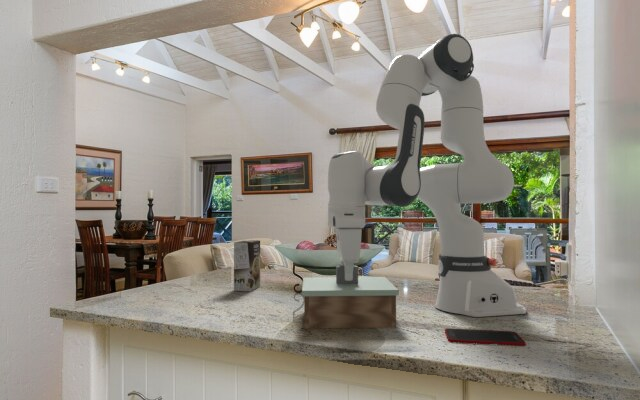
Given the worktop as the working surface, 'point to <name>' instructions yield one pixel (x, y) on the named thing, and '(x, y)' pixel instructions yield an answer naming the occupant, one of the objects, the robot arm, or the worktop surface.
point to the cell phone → (484, 337)
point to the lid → (348, 285)
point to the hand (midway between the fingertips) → (347, 277)
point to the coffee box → (246, 265)
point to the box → (350, 311)
